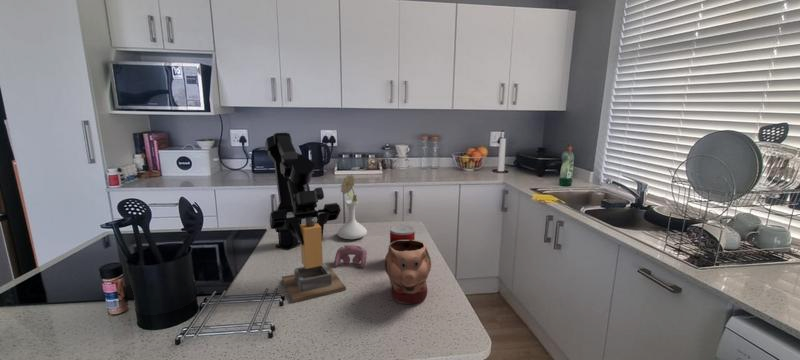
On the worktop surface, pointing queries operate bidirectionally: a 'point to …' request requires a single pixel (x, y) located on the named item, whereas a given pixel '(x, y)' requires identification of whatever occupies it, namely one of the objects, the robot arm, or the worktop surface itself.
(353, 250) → the video game controller
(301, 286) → the holder
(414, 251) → the decorative planter
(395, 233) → the canned food
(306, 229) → the plug
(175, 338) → the worktop surface
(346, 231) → the flower in vase
